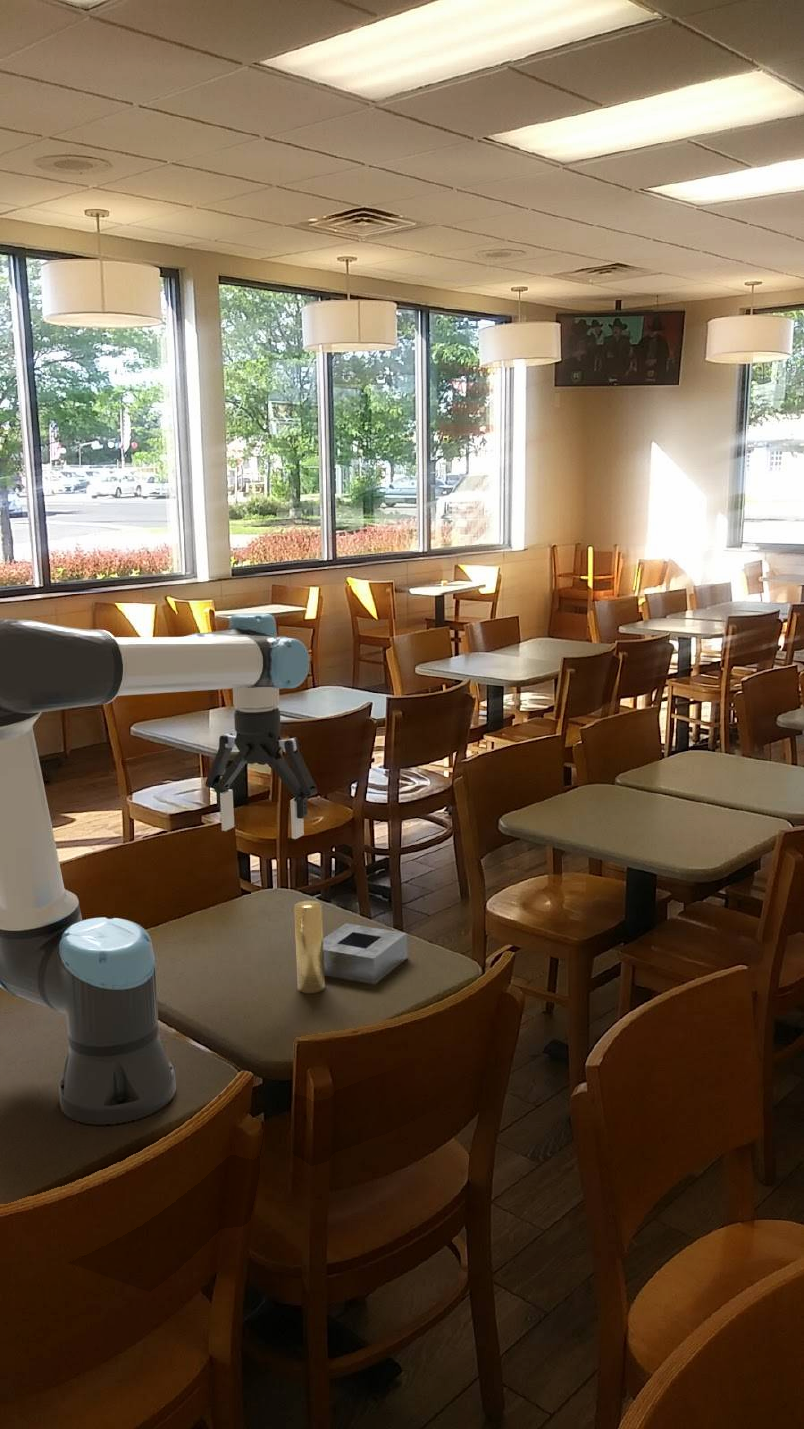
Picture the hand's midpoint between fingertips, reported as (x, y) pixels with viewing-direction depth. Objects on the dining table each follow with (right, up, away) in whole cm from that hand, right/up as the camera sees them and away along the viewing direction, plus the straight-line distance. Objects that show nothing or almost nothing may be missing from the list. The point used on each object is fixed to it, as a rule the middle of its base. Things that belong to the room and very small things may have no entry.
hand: (262, 832), depth 192 cm
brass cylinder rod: (+9, -25, -5) cm, 27 cm away
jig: (+16, -23, +3) cm, 28 cm away
